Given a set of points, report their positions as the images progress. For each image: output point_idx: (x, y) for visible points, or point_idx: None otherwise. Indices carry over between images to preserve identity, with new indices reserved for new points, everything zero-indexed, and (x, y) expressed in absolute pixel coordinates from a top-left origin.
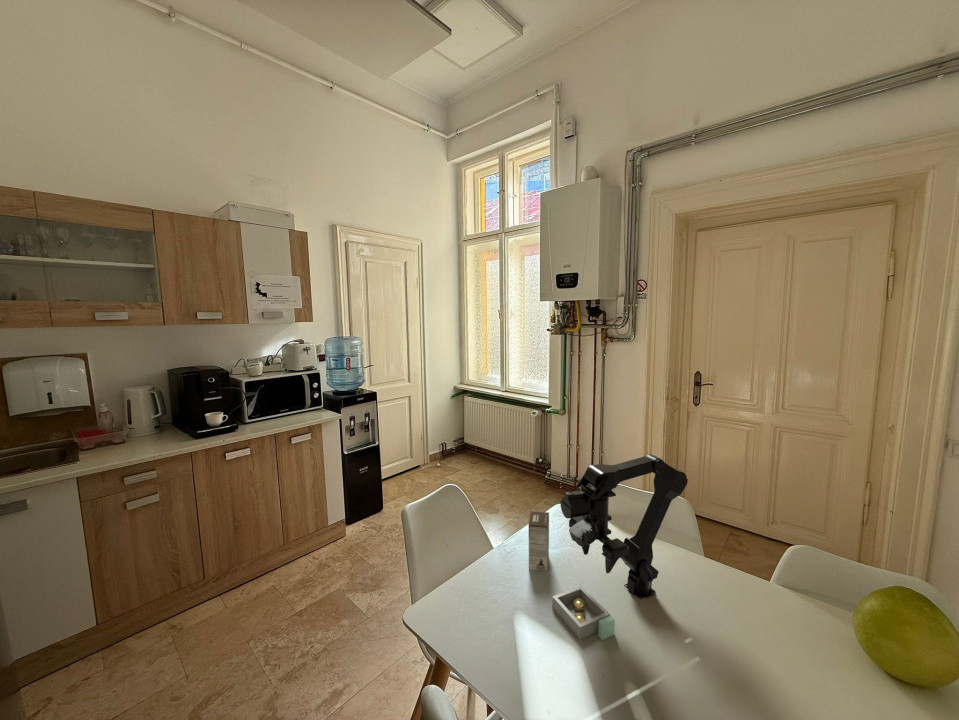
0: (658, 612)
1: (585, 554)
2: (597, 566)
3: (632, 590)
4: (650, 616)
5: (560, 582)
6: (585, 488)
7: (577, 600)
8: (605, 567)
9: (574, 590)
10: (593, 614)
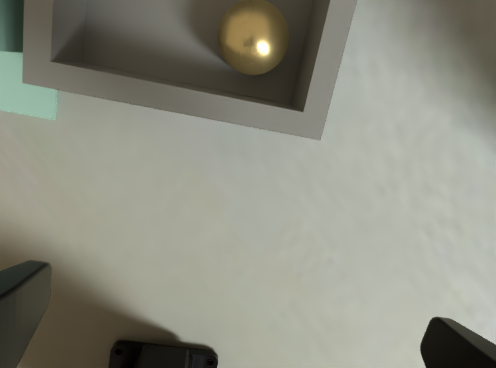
0: None
1: (432, 324)
2: (383, 363)
3: (151, 356)
4: None
5: (451, 132)
6: None
7: (268, 40)
8: (2, 295)
9: (320, 66)
10: (169, 72)
